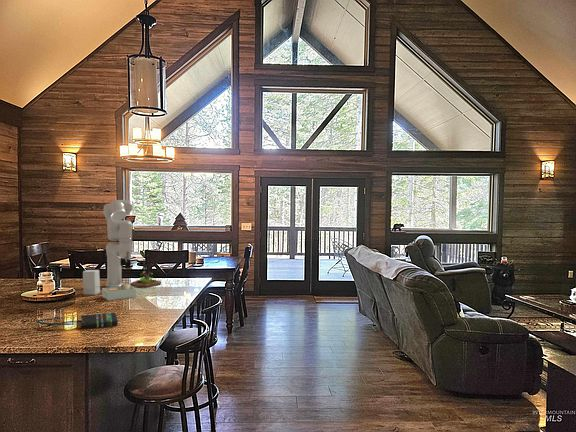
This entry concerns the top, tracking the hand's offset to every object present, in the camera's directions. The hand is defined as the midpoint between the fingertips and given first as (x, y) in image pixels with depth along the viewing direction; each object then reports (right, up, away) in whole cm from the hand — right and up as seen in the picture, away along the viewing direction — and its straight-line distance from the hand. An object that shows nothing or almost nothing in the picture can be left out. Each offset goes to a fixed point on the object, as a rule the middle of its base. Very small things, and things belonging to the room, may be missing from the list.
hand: (125, 266), depth 265 cm
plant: (0, -19, +37) cm, 41 cm away
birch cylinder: (0, -19, 0) cm, 19 cm away
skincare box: (-25, -19, +6) cm, 32 cm away
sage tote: (-3, -19, -2) cm, 20 cm away
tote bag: (+2, -22, -63) cm, 67 cm away
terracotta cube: (-6, -19, -5) cm, 20 cm away
